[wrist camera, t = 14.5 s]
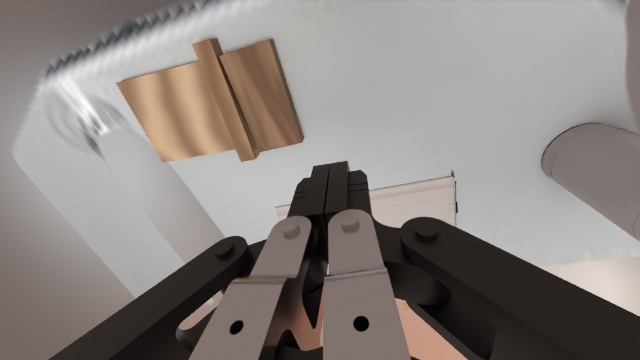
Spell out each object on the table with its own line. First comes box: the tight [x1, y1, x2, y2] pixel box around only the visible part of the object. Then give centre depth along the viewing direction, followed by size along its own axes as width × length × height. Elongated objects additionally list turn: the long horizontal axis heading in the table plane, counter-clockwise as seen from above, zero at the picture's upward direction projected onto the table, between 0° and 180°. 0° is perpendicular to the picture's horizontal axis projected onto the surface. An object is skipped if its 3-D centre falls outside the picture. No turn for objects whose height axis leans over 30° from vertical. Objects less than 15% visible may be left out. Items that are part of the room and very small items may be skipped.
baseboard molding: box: [276, 170, 458, 228], centre depth 45 cm, size 31×3×12 cm
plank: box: [219, 39, 304, 152], centre depth 36 cm, size 2×14×7 cm
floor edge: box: [116, 39, 260, 162], centre depth 38 cm, size 16×17×2 cm
